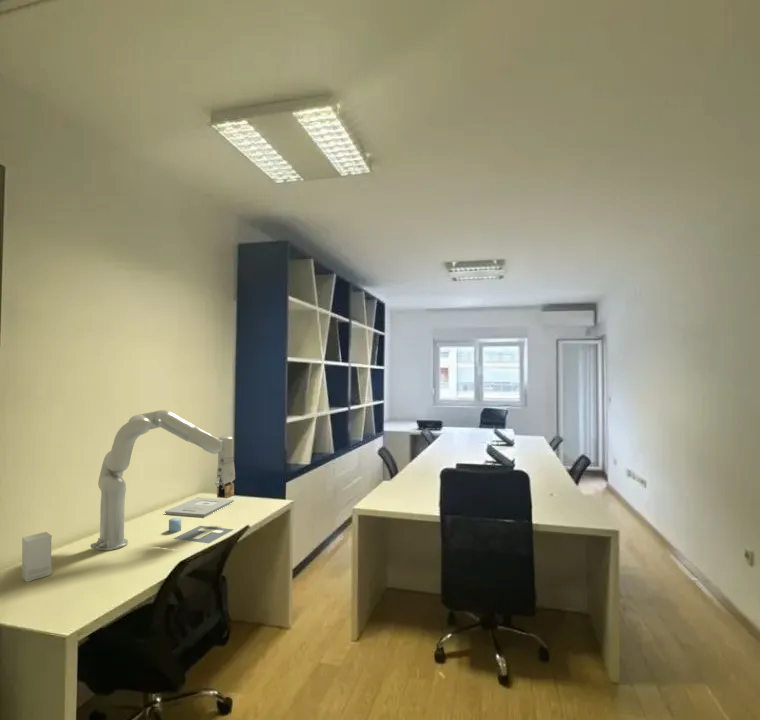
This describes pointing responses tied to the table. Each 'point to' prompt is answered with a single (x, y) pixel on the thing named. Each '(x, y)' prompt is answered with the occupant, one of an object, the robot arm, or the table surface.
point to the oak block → (227, 491)
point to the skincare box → (36, 556)
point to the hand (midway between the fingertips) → (225, 494)
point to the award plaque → (199, 507)
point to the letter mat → (203, 534)
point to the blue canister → (175, 525)
